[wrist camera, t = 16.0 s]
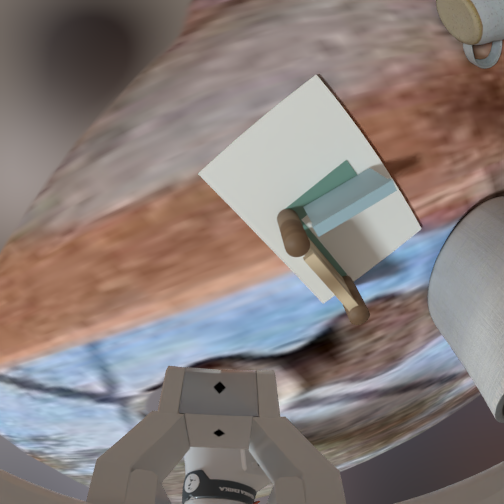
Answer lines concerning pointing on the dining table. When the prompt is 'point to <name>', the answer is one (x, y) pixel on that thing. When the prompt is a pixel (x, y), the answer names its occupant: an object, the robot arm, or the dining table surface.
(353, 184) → the light blue rectangular panel
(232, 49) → the dining table surface
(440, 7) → the ceramic mug
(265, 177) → the card
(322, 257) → the pine fence section
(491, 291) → the planter
